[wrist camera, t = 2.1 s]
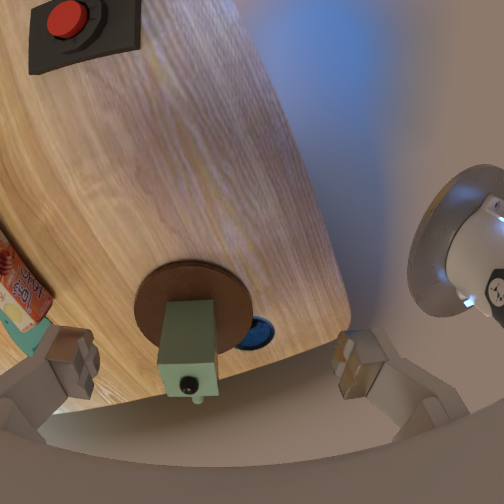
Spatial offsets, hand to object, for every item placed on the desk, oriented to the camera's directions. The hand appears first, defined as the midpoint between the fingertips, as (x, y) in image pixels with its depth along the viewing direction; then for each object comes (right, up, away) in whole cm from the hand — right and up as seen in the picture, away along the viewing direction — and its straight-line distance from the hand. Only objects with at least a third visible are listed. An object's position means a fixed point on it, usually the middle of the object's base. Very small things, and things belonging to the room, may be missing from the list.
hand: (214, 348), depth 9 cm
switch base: (-16, +26, +12) cm, 32 cm away
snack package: (-32, +4, +22) cm, 39 cm away
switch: (-15, +24, +8) cm, 30 cm away
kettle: (-6, -4, +29) cm, 30 cm away
